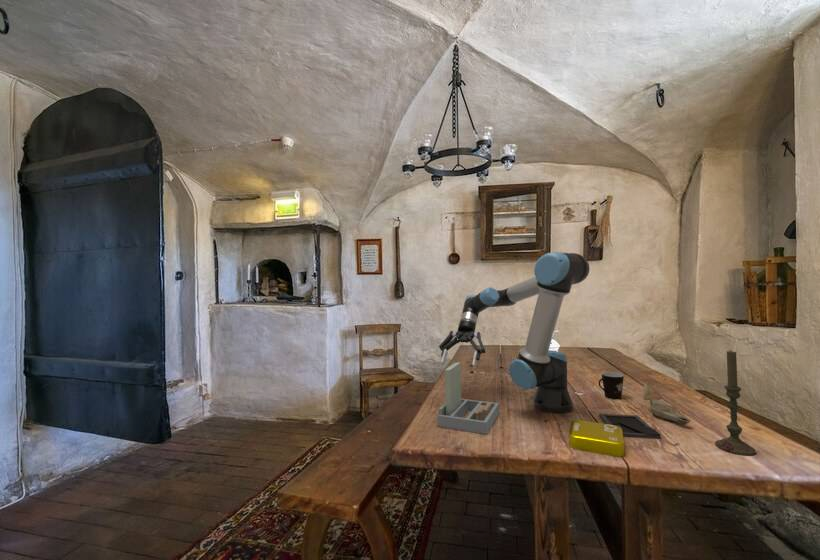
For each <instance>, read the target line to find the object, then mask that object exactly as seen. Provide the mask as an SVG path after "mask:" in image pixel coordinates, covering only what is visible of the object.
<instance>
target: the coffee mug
mask: <svg viewBox="0 0 820 560" xmlns="http://www.w3.org/2000/svg"><path fill="white" fill-rule="evenodd" d="M624 378H625V377H624V374H622V373H620V372H613V371H611V372H610V371H605V372H604V371H603V372H601V378H600V379H599V380H598V387H599V388H600V389H601V390H602V391H603V393H604V397H605V398H607V399H609V400H621V399H622V398H623V397H622V396H623V387H624ZM601 382H602V384H603V385H602V386H603V387H602V386H601Z"/></svg>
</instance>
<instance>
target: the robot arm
mask: <svg viewBox="0 0 820 560" xmlns="http://www.w3.org/2000/svg"><path fill="white" fill-rule="evenodd" d="M590 269H591V268H590V263H589V261H588V259H586V257H584V256H583V255H582V254H580V253H575V252H559V251H554V252H547V253H545V254H543V255H541V257H539V258H538V259H537V261H536V263H535V265H534V270H533V273H534V276H533V277H531V278H528V279H526V280H524V281H521V282H518V283H516V284H514V285H512V286H509V287H507V288H504V289H501V290H497V289H496V288H493V287H491V286H490V287H487V288H485V289H483V290H481V291H480V292H479V293H478V294H470V295H469V294H468V295H467V296H466V297H465V300H464V302H463V307H462V312H461V315H460V320H459V323H458V328H457V331H456V332H454V331H453V330H450V332H449V333H448V335H447V336H446V338H444V340H443V341H442V342H441V343H440V345H438V347H439V349H440V351H441V354H440V356H441V360H440V362H441V365H442V366H445V365H446V362H447V357H448V354H449V352H448V351H449V350H450V349H452V348H453V347H454V346H455V345H457V344H459V343H462V344H463V343H465V344H468V343H470V345H471V346H472V347H473V349H474V354H473V359H472V367H473V368H474V369H476V367H477V363H478V361H480V358H481V355H482V354H486V350H485V347H484V346H485V345H484V344H483V341H482V335H481V332H480V331H477V332H476V326H477V322H478V320H479V319H478V318H479V314H480V313H481V312H482V311H485V310H486V309H489V308H495V307H496V308H497V307H511V306H514V305H516V304H517V302H520V301H523V300H526V299H529V298H531V297H534V296H537V300H536V302H535V306H534V310H533V314H532V319H531V322H530V326H529V330H528V334H527V337H526V341H525V345H524V347H522V348H520V349H519V352H518V356H517V359H516V358H515V359H514V360H512V361H511V362H510V363H509V366H508V371H509V377H510V378H511V380H512V382H513V383H514V384H515V385H516V386H517V387H518V388H520V389H522V390H534V389H536V390H535V394H534V396H533V407H534V408H535V409H537V410H540V411H543V412H546V413H553V414H554V413H555V414H564V413H565V414H566V413H571V412H572V411H573V410H574V409H573V408H574V407H573V406H574V405H573V400H572V398H571V395H570V393H569V390H568V361H567V360H568V359H567V355H566V353H564V352H561V351H556V350H549V349H550V346H551V344H552V339H553V336H554V333H555V328H556V326H557V321H558V317H559V316H560V311H561V307H562V304H563V301H564V297H565V296H567V295H569V294H570V293H571V289H572V286H573V285H575V284H580V283H582V282H583V281H584V280H586V279H587V277H588V276H589V273H590ZM475 332H476V333H475ZM474 338H475V339H477V342H478V344H479V346H480V348H479V346H478V345H477V344H476V343H475V341H474V340H473V339H474Z"/></svg>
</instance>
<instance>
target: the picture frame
mask: <svg viewBox="0 0 820 560" xmlns="http://www.w3.org/2000/svg"><path fill="white" fill-rule="evenodd" d="M598 417H599V418H600V420H601V421H602V422H603V424H610V425H616V426H619V427H621V428H622V432H623V438H635V439H648V440H649V439H650V440H654V439H655V440H662V436H661V435H662V434H661V433H660V432H659V431H658V430H656V429H655V428H652V426H650V425H649V424H648V423H647V422H646V421H644V420H643V419H642V418H641V417H640V416H639V415H636V414H615V413H598Z"/></svg>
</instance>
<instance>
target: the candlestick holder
mask: <svg viewBox="0 0 820 560" xmlns="http://www.w3.org/2000/svg"><path fill="white" fill-rule="evenodd" d="M737 360H738V359H737V352H736V351H733V350H731V349H729V350H727V351H726V366H727V367H726V368H727V369H726V370H727V371H726V372H727V385H724V389H725V390H726V391H725V395H726V397H728V398H729V404H728V408H729V410H730V411H729V412H730V416H729V417H730V423H728V424H727V425H726V429H727V431H728V433H729V437H724V438H722V439H718V440H716V441H715V445H714V446H716V447H717V448H718V449H719V450H722V451H724V452H727V453H730V454H734V455H738V456H744V457H745V456H754V455H756V454H757V450H756V449H755V448H754V447H752V446H751V445H749V444H748V443H746V442H745V441H743V440H742V439H741V438H740V435H741V434H742V431H743V428H742V427H741V426H740V425H739V423H738V409H739V405H738V401H737V399H740V397H741V394H740V392H741V391H742V388H741V387H740V386H738V367H737Z"/></svg>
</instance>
